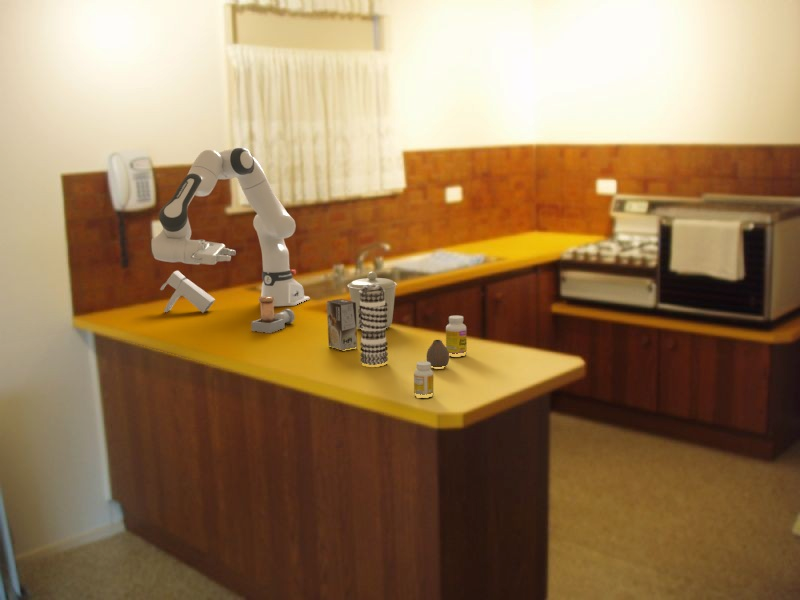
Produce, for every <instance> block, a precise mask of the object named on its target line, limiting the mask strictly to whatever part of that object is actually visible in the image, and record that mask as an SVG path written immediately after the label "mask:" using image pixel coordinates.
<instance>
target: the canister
mask: <svg viewBox="0 0 800 600" xmlns="http://www.w3.org/2000/svg"><path fill="white" fill-rule="evenodd" d="M366 276H367V277H366V278H364V277H363V278H359V279H354V280H353V281H351V282H350V283H348V284H347V288H348V289H349V295H350V296H349V297H350V301H352V302H356V323H357V329H358V328H359V327H360V325H361V324H359V320H361V319H360V318H359V317H358V316H359V314H360V313H359V312H358V310H359V309H360V308H359V306H360V300H361V298H360V292H359V291H360V290H361V289H362V287H363V286H366V285H379V286H381V287H382V289H383V290H385V291H384V300H385V303H387V306H386V307H384V308H387V309H388V310H387V311H386V312H385V311H384V314H387V317H386V318H385V319H387V322H386V323H385V325H386V326H387V329H389V328H390V327H391V326H392V322H393V319H394V317H393V315H394V308H395V307H394V306H395V295H396V287H397V286H398V283H397V282H395V281H393V280H392V279H389V278H384V277H383V278H382V277H378V274H377V273H376V272H374V271H370V272H368V273H367V275H366ZM388 327H389V328H388ZM358 330H360V328H359V329H358Z"/></svg>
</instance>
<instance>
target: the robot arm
mask: <svg viewBox="0 0 800 600" xmlns="http://www.w3.org/2000/svg"><path fill="white" fill-rule="evenodd" d="M234 178H237V180H238V183H239V186H240V187H241V189H242V192H243V194H244V196H245V198H246V200H247V202H248V205H249V206H250V207H251V208H252V209H253V210H254V212H255V213H256V214H255V216H254V218H253V220H252V221H253V222H252V225H253V228H254V230H255V231H256V234H257V237H258V241H259V245H260V246H259V247H260V249H261V257H262V258H261V259H262V271H261V278H262V283H261V294H260V295H261V296H260V297H263V296H273V297H274V301H273V303H274V307H289V306H291V307H292V306H297V304H298V305H299V303H300V304H302V303H304V301H305V302H306V300H307V301H309V300H311V297H310V296H308V295H305V291H304V287H303V285H302V284H301V283H299V282H298V281H297V280H295V278H294V277H293V276H294V275H296V269H290V252H289V249H288V247H287V246H286V242H285V239H288V238H290V237H292V236H293V235H294V233H295V232H296V227H297V226H296V221H295V219H294V218H293V217H292V216H291V215H290V214H289V213H288V212H287V210H286V208H285V206H284V205H283V204H282V203H281V202H280V200H279V199H278V197H277V196H276V194H275V191H274V190H273V188H272V186H271V183H270V182H269V180H268V178H267V176H266V174H265V172H264V169H263V168H262V166H261V165H260V163H259V162H258V161H257V159H256V158H255V157H254V156H253V154H252V153H251V152H250V151H249V149H246V148H244V147H235V148H233V149H232V148H231V149H230V148H229V149H226V150H225V149H224V150H223V151H220V152H217V151H216V150H212V149H204V150H203V151H201V152H200V153H199V154H198V156H197V157H196V159H195V160H194V162H193V163H192V165H191V167H190V169H189V171H188V173H187V174H186V176H185V177H184V179H182V181H181V183H180V185H179V186H178V188H177V189H176V190H175V193H174V194H173V196H172V197H171V199H170V200H169V201H167V203H166V204H164V206H162V208H161V209H160V210H159V213H158V220H159V222H160V224H161V227H162V230H161V231H160V233H158V235H156V236H155V237H153V238H151V241H150V251H151V255H152V257H153V258H154V259H155V260H157V261H160V262H166V263H167V262H168V263H183V264H188V265H200V264H201V265H212V266H213V265H214V266H215V265H216V264H217V263H218V262H230V261H231V259H232V256H236V254H237V253H236V252H237V251H236V250H235V249H230V248H228V247H227V248H226V245H225V244H224V243H219V242H213V241H206V240H205V239H191V238H192V237H191V236H192V228H191V224H190V220H189V217H188V207H189V205H190V203H191V202H192V200H193V199H194V197H195V196H196V197H206V196H209V195H210V194H211V193H212V191H213V190H214V188H215V187H216V185H217V182H218V181H222V180H230V179H234ZM301 302H302V303H301Z"/></svg>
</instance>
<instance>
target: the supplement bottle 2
mask: <svg viewBox="0 0 800 600" xmlns="http://www.w3.org/2000/svg"><path fill="white" fill-rule="evenodd" d="M463 322H464V316H463V315H450V316H448V323H447V325H446V326H445V347H446V348H447V350H448V353H452V354H455V353H456V354H458V353H464V352H466V351H467V343H468V341H467V340H468V339H467V326H466V324H464V323H463ZM466 353H467V352H466Z"/></svg>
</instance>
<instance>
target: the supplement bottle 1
mask: <svg viewBox="0 0 800 600" xmlns="http://www.w3.org/2000/svg"><path fill="white" fill-rule="evenodd" d="M415 366H416V369H415V370H414V371H413V393H416V394H420V395H421V394H422V395H425V394H426V395H427V394H431V393H433V394H434V371H433V369H432V368H431V363H430V362H427V360H426V361H425V360H423V361H417V362H416V364H415Z"/></svg>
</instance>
